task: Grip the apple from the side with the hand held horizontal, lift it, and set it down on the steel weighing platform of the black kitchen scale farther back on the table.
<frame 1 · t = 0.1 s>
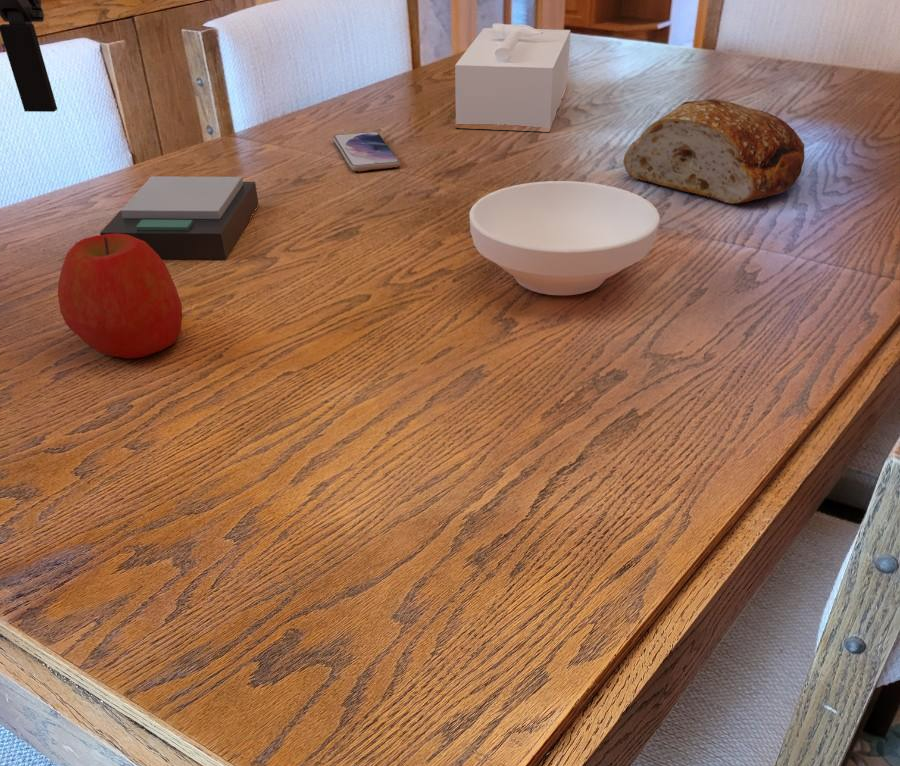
hand: (8, 134, 75), 19 cm above the table, tool pointing down, fingers open, 13 cm apart
apple: (134, 346, 89), on the table
bread: (720, 181, 120), on the table
bowl: (559, 282, 98), on the table
smartphone: (365, 155, 130), on the table
tissue box: (514, 109, 146), on the table
scale: (187, 231, 110), on the table
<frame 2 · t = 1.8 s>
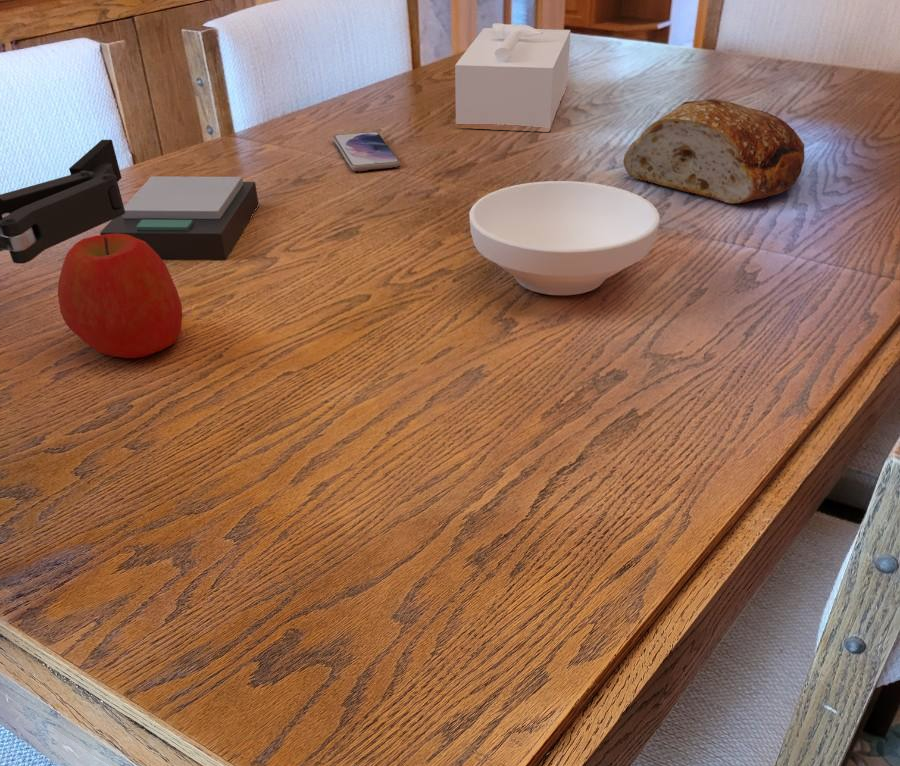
hand: (24, 158, 68), 20 cm above the table, tool horizontal, fingers open, 13 cm apart
nothing on the table moved.
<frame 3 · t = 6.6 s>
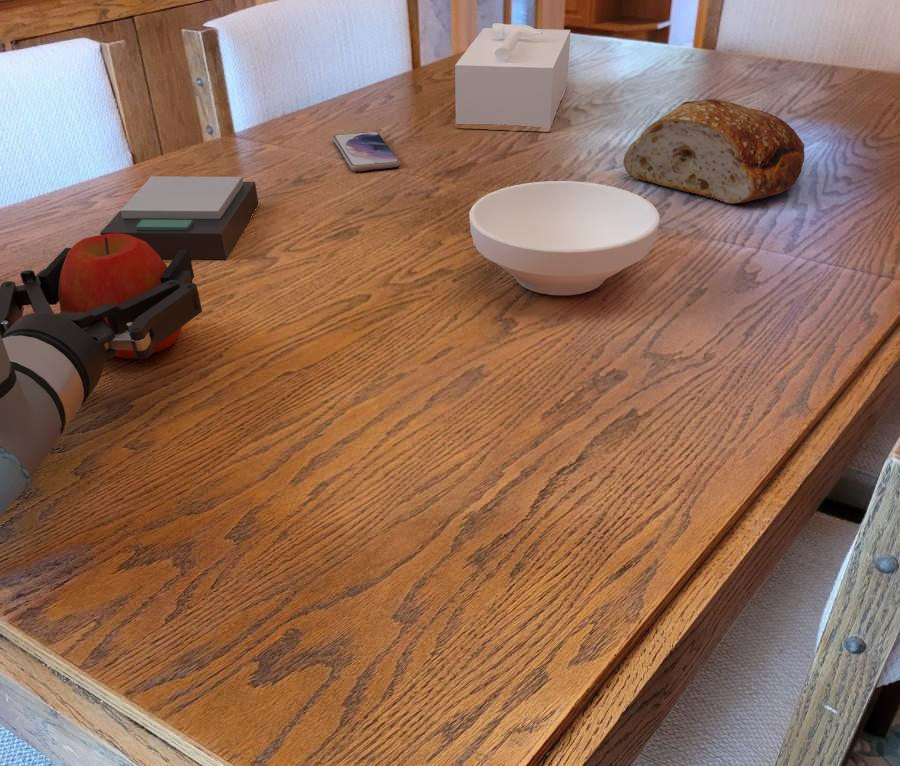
hand: (130, 262, 87), 6 cm above the table, tool horizontal, fingers closed on apple, 11 cm apart
apple: (134, 346, 89), on the table, touching gripper
everything else where it was.
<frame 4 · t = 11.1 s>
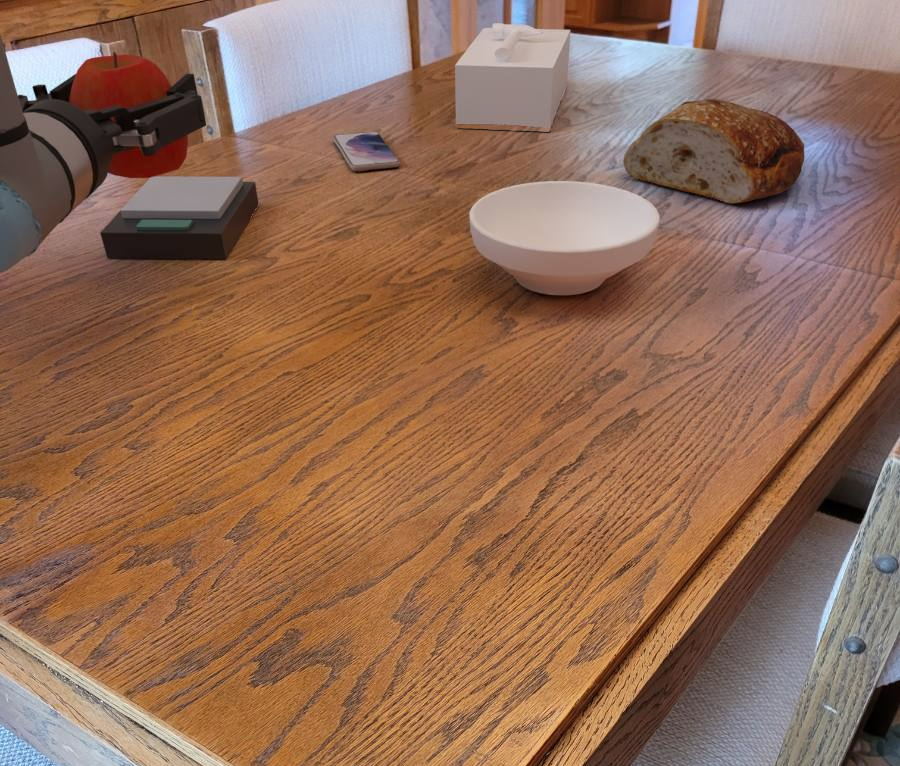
hand: (137, 88, 90), 18 cm above the table, tool horizontal, fingers closed on apple, 11 cm apart
apple: (141, 172, 92), point 11 cm above the table, touching gripper
everything else where it was.
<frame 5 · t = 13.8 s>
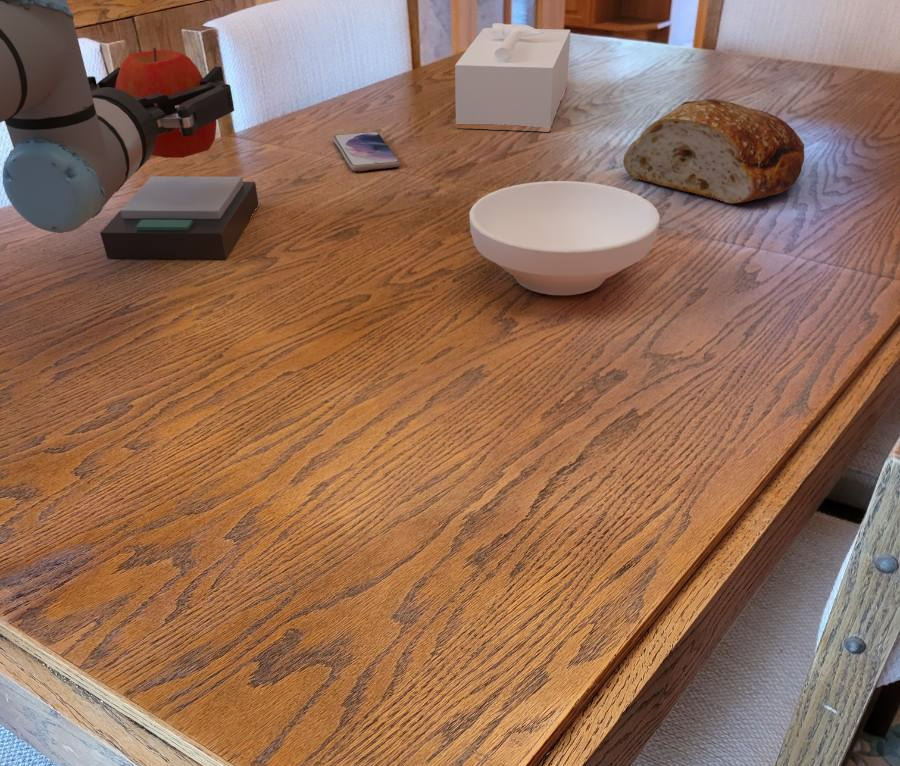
hand: (172, 80, 104), 15 cm above the table, tool horizontal, fingers closed on apple, 11 cm apart
apple: (175, 153, 105), point 8 cm above the table, touching gripper
everything else where it was.
when the fingers open (10 cm above the table, at t = 15.7 s): apple stays where it is, resting on scale.
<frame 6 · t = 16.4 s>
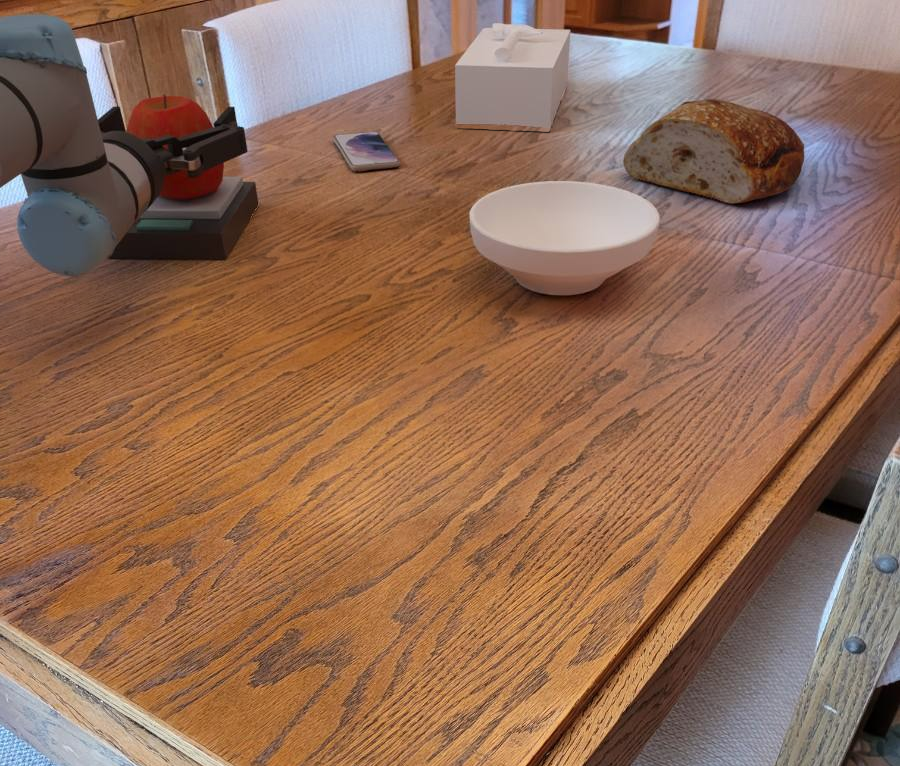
hand: (176, 119, 106), 11 cm above the table, tool horizontal, fingers open, 13 cm apart
apple: (184, 194, 108), point 4 cm above the table, touching scale
everything else where it was.
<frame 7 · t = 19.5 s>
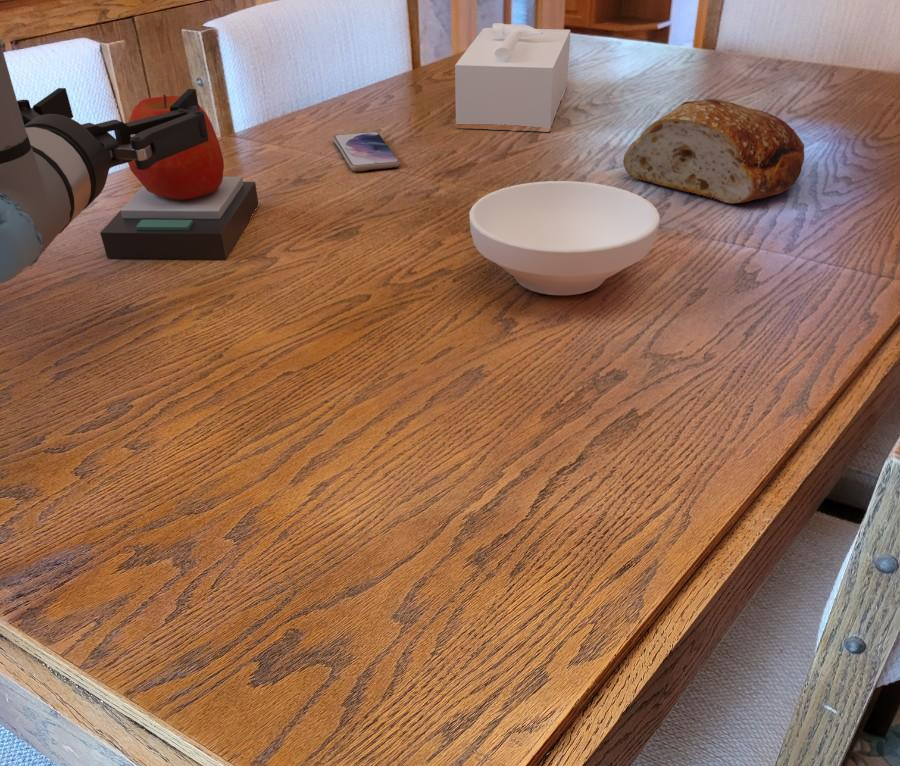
hand: (130, 103, 93), 16 cm above the table, tool horizontal, fingers open, 13 cm apart
nothing on the table moved.
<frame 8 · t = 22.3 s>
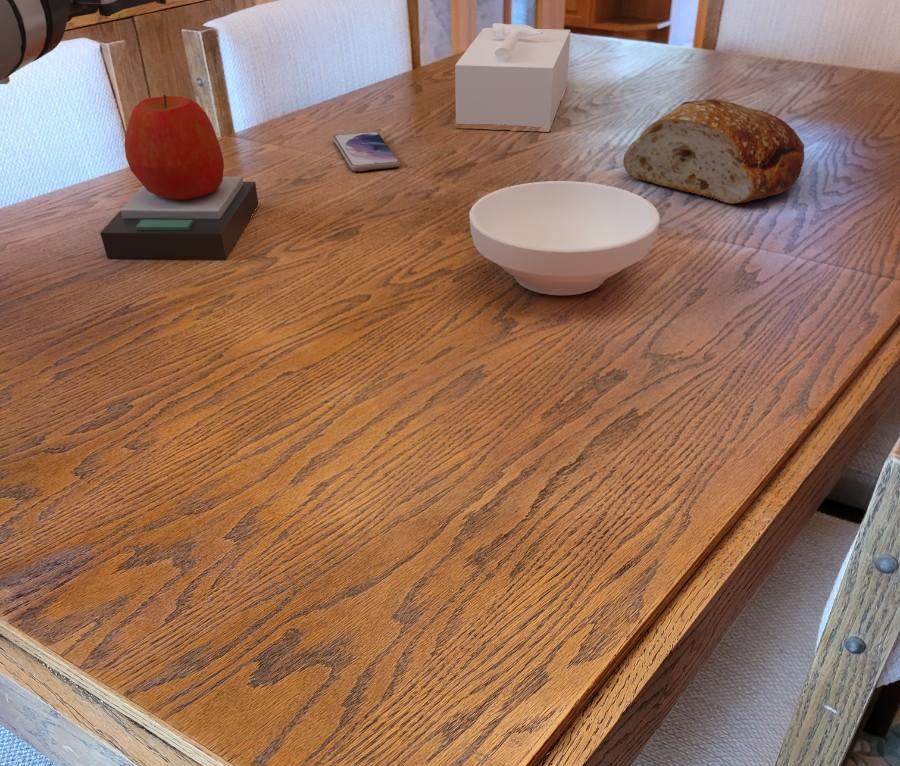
nothing on the table moved.
at the end: apple inside the target area on the scale (0.1 cm from its centre), point 3.8 cm above the scale's base; the gripper is holding nothing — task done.
